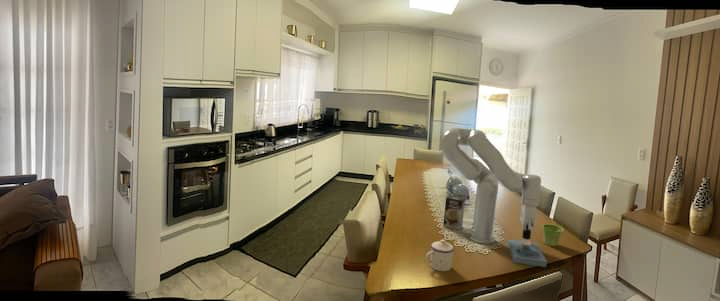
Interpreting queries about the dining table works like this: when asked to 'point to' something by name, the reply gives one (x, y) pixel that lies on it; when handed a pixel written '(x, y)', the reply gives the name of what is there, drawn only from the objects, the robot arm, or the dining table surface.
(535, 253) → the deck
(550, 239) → the plant pot
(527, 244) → the ball
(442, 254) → the teacup with lid
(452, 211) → the coffee box
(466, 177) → the robot arm
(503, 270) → the dining table surface
